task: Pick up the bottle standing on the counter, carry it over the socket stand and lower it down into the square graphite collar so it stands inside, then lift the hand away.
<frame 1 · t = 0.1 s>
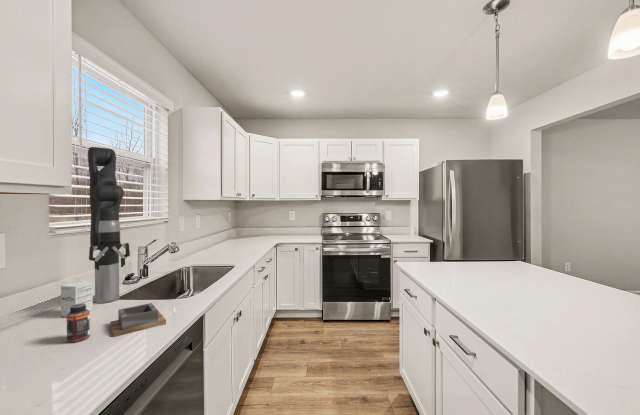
hand: (110, 268, 125), 17 cm above the counter, tool pointing down, fingers open, 8 cm apart
supplement box: (77, 314, 118), on the counter
supplement bottle: (78, 339, 96), on the counter
socket stand: (138, 324, 107), on the counter
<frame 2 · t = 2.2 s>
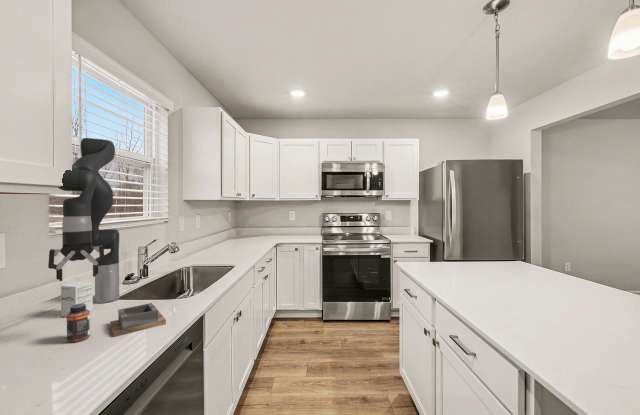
hand: (78, 278, 96), 20 cm above the counter, tool pointing down, fingers open, 8 cm apart
nothing on the counter moved.
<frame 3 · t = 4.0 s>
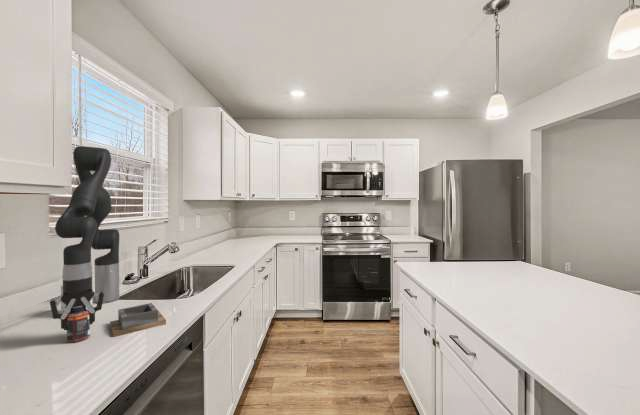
hand: (78, 326, 96), 4 cm above the counter, tool pointing down, fingers closed on supplement bottle, 6 cm apart
supplement bottle: (78, 339, 96), on the counter, touching gripper
everything else where it was.
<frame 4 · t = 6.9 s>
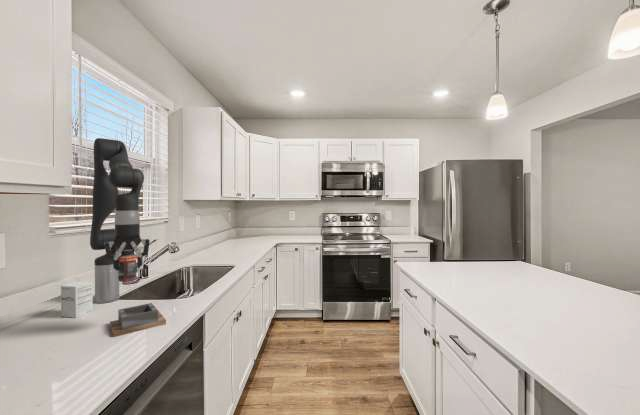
hand: (128, 268, 105), 21 cm above the counter, tool pointing down, fingers closed on supplement bottle, 6 cm apart
supplement bottle: (128, 280, 105), point 17 cm above the counter, touching gripper
everything else where it was.
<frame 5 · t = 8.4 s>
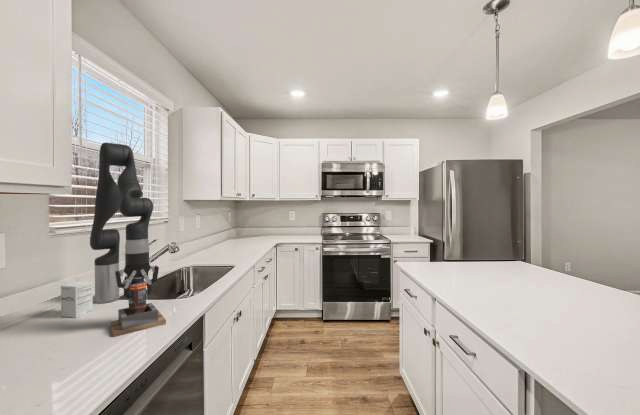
hand: (137, 295, 107), 11 cm above the counter, tool pointing down, fingers closed on supplement bottle, 6 cm apart
supplement bottle: (138, 307, 107), point 6 cm above the counter, touching gripper
everything else where it was.
when the fingers open (7 cm above the counter, at t = 9.7 s): supplement bottle drops 1 cm, resting on socket stand.
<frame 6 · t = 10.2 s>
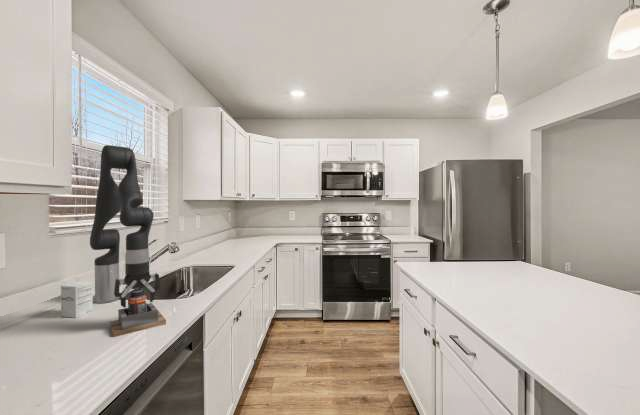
hand: (138, 304, 107), 8 cm above the counter, tool pointing down, fingers open, 8 cm apart
supplement bottle: (137, 321, 107), point 1 cm above the counter, touching socket stand
everything else where it was.
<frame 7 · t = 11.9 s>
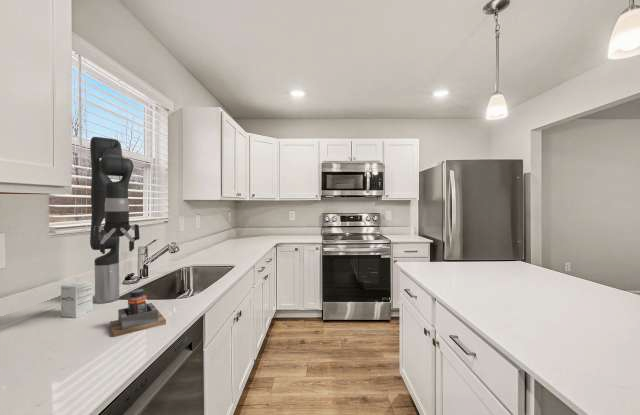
hand: (117, 252, 110), 27 cm above the counter, tool pointing down, fingers open, 8 cm apart
nothing on the counter moved.
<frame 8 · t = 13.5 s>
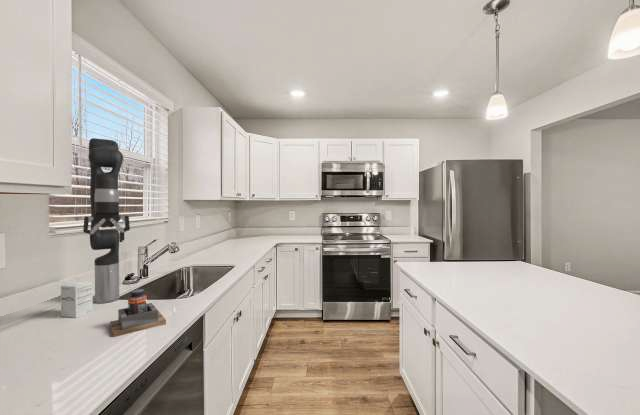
hand: (107, 243, 111), 30 cm above the counter, tool pointing down, fingers open, 8 cm apart
nothing on the counter moved.
at the end: supplement bottle 0.1 cm off-centre on the socket stand, point 1.3 cm above the socket stand's base; supplement bottle tilted 0°; the gripper is holding nothing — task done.
